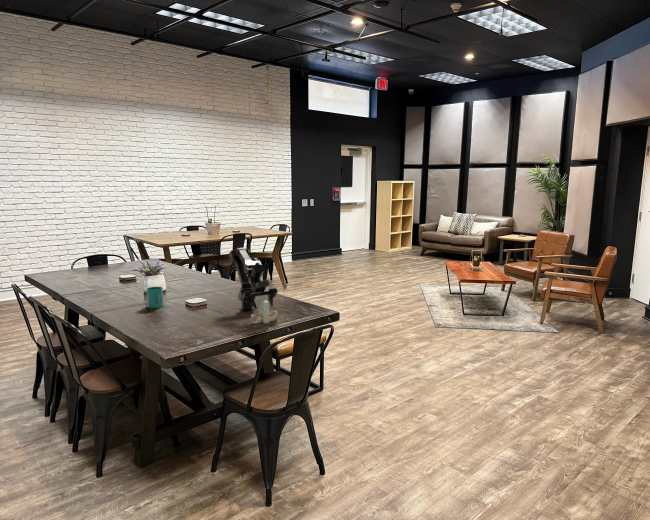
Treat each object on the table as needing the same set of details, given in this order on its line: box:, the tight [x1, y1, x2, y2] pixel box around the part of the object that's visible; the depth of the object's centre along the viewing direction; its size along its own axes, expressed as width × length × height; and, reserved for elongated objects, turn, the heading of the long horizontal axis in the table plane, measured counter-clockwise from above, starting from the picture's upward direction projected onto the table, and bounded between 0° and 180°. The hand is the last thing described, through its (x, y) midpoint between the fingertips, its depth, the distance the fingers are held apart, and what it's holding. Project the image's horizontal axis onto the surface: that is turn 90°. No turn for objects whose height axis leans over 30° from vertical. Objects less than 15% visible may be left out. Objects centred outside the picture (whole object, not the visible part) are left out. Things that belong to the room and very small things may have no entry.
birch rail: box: [250, 310, 278, 324], centre depth 255 cm, size 14×2×4 cm, turn 119°
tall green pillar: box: [258, 299, 270, 324], centre depth 254 cm, size 7×3×11 cm, turn 29°
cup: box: [146, 286, 165, 309], centre depth 284 cm, size 9×12×11 cm
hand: (264, 307), depth 253 cm, fingers open, 9 cm apart
